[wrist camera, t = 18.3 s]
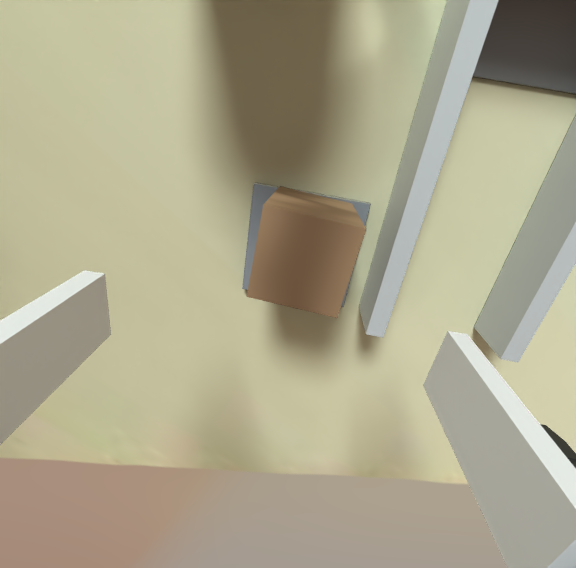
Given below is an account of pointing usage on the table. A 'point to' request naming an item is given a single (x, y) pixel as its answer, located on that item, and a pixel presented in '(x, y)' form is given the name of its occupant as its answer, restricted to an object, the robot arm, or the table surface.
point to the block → (305, 251)
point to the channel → (434, 144)
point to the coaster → (258, 199)
